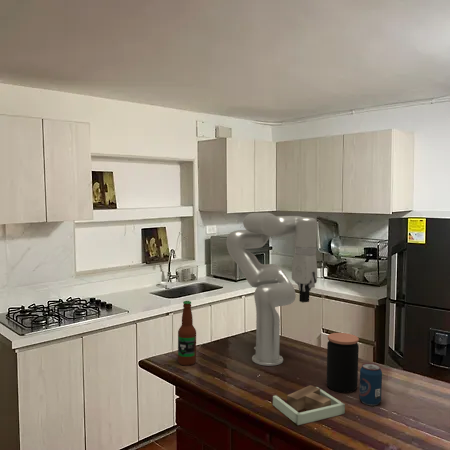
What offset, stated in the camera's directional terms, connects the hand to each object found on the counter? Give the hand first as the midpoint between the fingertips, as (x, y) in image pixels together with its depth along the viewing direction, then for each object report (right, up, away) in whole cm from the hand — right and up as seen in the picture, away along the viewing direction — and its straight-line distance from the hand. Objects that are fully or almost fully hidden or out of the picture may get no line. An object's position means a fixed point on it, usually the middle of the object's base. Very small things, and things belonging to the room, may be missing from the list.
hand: (304, 301), depth 165 cm
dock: (-3, -31, -21) cm, 37 cm away
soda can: (+19, -31, -15) cm, 39 cm away
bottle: (-44, -28, +18) cm, 55 cm away
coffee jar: (+13, -30, -4) cm, 33 cm away
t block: (-1, -30, -20) cm, 37 cm away
